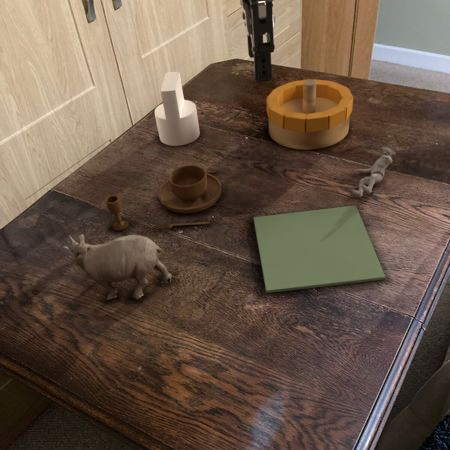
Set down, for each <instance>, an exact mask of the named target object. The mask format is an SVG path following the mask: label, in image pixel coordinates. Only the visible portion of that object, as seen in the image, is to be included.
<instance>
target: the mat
mask: <svg viewBox="0 0 450 450" xmlns="http://www.w3.org/2000/svg"><path fill="white" fill-rule="evenodd" d="M253 224H254V231H255V236H256V241H257V248H258V253H259V259H260V266H261V271H262V276H263V281H264V288H265V293H266V294H271V293H281V292H289V291H298V290H305V289H307V290H308V289H317V288H323V287H332V286H341V285H349V284H350V285H351V284H358V283H368V282H376V281H384V280H386V275H385V272H384V270H383V267H382V265H381V263H380V261H379V258H378V256H377V253H376V251H375V249H374V245H373V244H372V242H371V238H370V236H369V234H368V232H367V229H366V227H365V225H364V222H363V220H362V216H361V214H360V212H359V210H358V208H357V206H356V205H354V204H353V205H347V206H340V207H331V208H322V209H313V210H306V211H297V212H288V213H279V214H272V215H261V216H254V217H253Z"/></svg>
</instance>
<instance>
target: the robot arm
mask: <svg viewBox="0 0 450 450" xmlns="http://www.w3.org/2000/svg"><path fill="white" fill-rule="evenodd" d="M239 3H240V6H241V8H240V9H241V10H240V11H241V16H242V20H244V21H243V22H244V25H243V26H244V27H245V29H246V39H247V54H248V57H249V58H251V59H253V70H254V79H255V82H256V83H265V82H270V81H272V77H273V75H272V53H274V52H275V49H276V46H275V40H274V39H275V37H274V36H275V35H274V30H275V29H274V28H275V24H274V23H275V22H274V13H273V7H274V0H239ZM264 35H265V37H266V42H264Z"/></svg>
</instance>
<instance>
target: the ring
mask: <svg viewBox="0 0 450 450" xmlns="http://www.w3.org/2000/svg"><path fill="white" fill-rule="evenodd" d="M306 80H315V81H316V97H323V98H328V99H330V100H332V101H334V102H336V103H338V105H337V106H336V107H333V108H331V109H329V110H327V111H324V112H318V113H310V114H304V113H297V112H290V111H288V110H286V109H284V108H283V107H281V106H282V104H283V103H285V102H288V101H290V100H292V99H295V98H301V97H303V82H304V81H306ZM353 105H354V96H353V93H352V92H351V90H350V88H348V87H347V86H344V85H342V84H341V83H339V82H336V81H331V80H325V79H316V78H313V79H312V78H309V79H308V78H307V79H301V80H293V81H289V82H288V83H284V84H282V85H280V86H277V87H275V88H274V89H273V90H272V91H271V92H270V93H269V94H268V95H267V97H266V113H267V117H269V120H270V122H272V123H274V124H275V125H277V126H279V127H280V128H282V129H284V128H285V130H291V131H298V132H305V131H306V132H314V131H322V130H327V128H328V129H331V128H333V127H335V126H337V125H340V124H342V123H344V122H345V121H346V120H347V119H348V117H349V116H350V117H351V114H352V112H353V107H354V106H353ZM269 120H268V121H269Z"/></svg>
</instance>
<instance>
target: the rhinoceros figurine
mask: <svg viewBox="0 0 450 450" xmlns="http://www.w3.org/2000/svg"><path fill="white" fill-rule="evenodd" d="M68 238H69V239H70V241H71V248H69V247H68V246H65V245H64V246H62V249H64V250H70V252H71V253H72V254H73V255H74V257H75V259H74V263H76V265H77V266H78V267H79V268H80V269H81V270H82V271H84V272H85V274H86V276H87V277H88V278H89V279H90V280H93V281H95V282H96V284H97V285H99V287H102V288H104V289H105V290H106V291H107V292H108V295H107V297H106V301H110V300H112V299H116V298H117V297H118V295H117V294H118V290H117V289H116V287H114V285H113V283H123V282H124V281H127V280H131V279H133V280H135V281H136V285H135V288H134V292H133V295H132V296H131V298H132V297H133V298H134V299H136V300H138V299H140V298H141V297H143V296H145V295H144V293H143V289H144V288H146V286H148V285H149V280H147V275H148V274H149V273H151V271H152V270H155V271H157V272H159V273H160V274H161V278H160V283H161V284H169V283H170V282H171V281H172V277H173V276H172V274H171V273H170V272H169V271H168V269H167V267H166V266H165V265H164V263H162V262H161V260H160V259H159V254H161V253H163V248H161V247H160V246H159V245H158V244H157V243H156V242H154V241H153V240H152V239H150V238H149V237H147V236H143V235H139V234H128V235H124V236H123V235H122V236H119V237H117V238H114V239H112V240H110V241H107V242H105V243H102V244H101V243H99V244H89V243H86V242H85V235H84V234H83V233H81V234H80V235H78V237H77V239H78V242H77V241H76V240H75V239H74V238H73V236H71V235H70V234H69V235H68ZM169 279H170V280H169ZM168 280H169V281H168Z"/></svg>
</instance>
